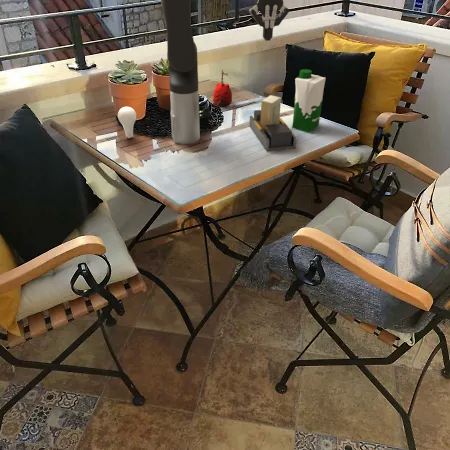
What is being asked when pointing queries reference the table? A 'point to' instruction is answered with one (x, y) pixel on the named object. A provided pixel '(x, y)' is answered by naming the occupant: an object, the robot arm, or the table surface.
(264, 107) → the skincare box
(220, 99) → the red clay folk toy
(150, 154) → the table surface
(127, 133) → the lightbulb
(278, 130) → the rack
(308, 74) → the milk carton
